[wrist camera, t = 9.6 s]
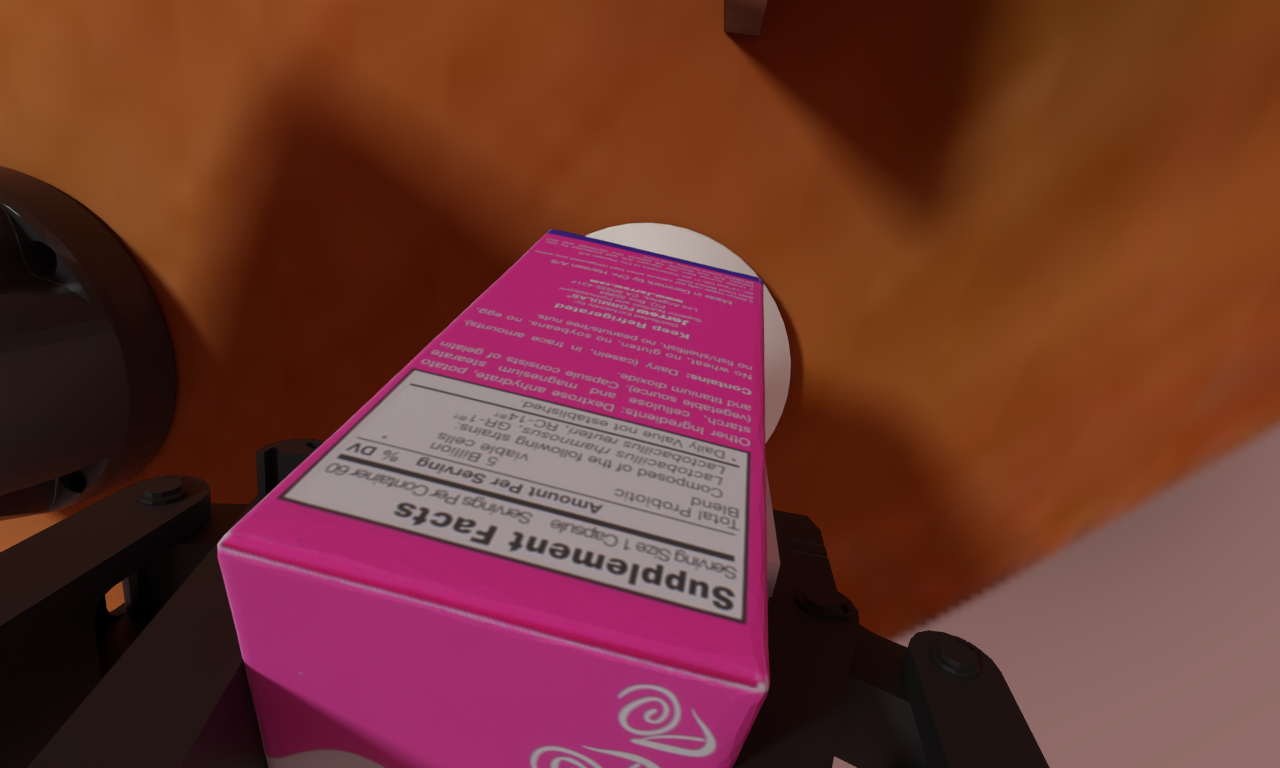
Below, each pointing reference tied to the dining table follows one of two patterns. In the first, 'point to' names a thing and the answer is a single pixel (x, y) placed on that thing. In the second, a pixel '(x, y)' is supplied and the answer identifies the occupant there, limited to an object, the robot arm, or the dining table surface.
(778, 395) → the pebble
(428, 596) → the supplement box
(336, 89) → the dining table surface
